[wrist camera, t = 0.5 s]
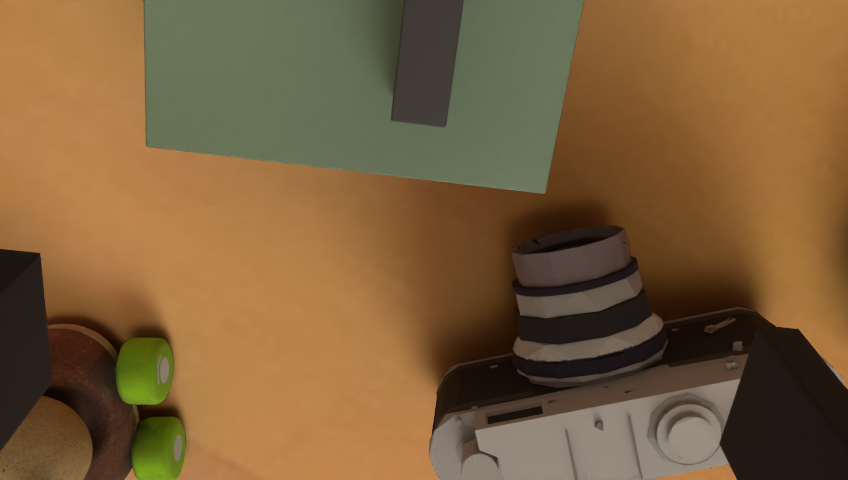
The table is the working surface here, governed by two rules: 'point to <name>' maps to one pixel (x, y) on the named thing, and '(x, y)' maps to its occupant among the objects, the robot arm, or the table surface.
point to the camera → (592, 376)
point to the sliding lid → (365, 84)
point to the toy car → (98, 413)
